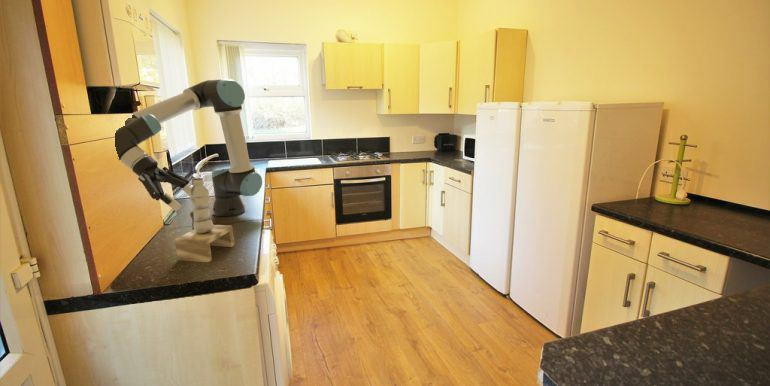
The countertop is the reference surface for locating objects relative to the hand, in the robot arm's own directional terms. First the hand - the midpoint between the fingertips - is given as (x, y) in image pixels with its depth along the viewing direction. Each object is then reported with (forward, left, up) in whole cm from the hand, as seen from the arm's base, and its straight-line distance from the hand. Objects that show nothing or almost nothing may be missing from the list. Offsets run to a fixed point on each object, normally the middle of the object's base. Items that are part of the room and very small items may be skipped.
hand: (189, 203), depth 130 cm
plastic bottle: (-1, +4, -11) cm, 12 cm away
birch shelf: (-1, +4, -19) cm, 19 cm away
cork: (-17, -11, -19) cm, 28 cm away
